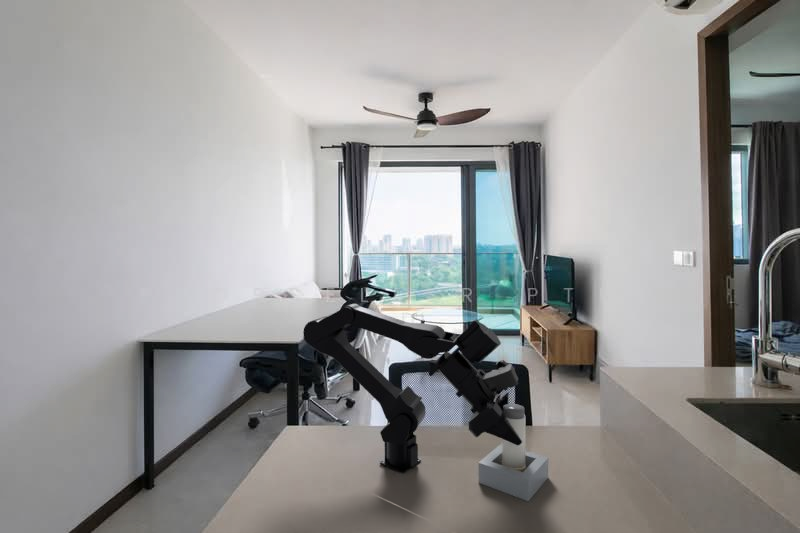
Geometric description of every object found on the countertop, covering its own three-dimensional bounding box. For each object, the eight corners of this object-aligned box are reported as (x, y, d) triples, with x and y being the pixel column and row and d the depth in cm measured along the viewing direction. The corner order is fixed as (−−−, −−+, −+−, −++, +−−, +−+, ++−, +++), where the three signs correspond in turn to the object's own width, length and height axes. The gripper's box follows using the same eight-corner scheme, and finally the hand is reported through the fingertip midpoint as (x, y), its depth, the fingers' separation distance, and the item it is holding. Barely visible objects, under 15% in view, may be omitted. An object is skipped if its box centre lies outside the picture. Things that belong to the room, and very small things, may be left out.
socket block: (478, 482, 84) (478, 462, 84) (501, 461, 92) (501, 443, 91) (528, 501, 78) (528, 479, 77) (548, 477, 85) (548, 457, 85)
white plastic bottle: (497, 468, 85) (497, 406, 84) (512, 462, 88) (512, 401, 87) (514, 479, 81) (514, 413, 81) (530, 471, 84) (530, 408, 83)
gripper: (487, 363, 76) (553, 433, 73) (498, 340, 93) (551, 396, 90) (443, 403, 79) (505, 471, 76) (462, 373, 96) (512, 428, 93)
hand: (521, 438), depth 84 cm, fingers closed on white plastic bottle, 4 cm apart
